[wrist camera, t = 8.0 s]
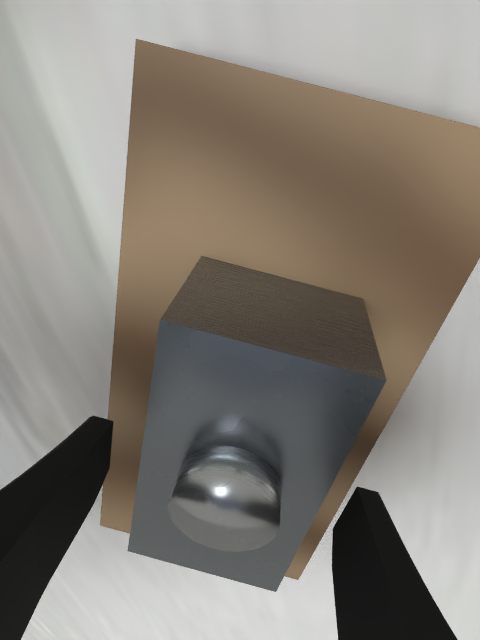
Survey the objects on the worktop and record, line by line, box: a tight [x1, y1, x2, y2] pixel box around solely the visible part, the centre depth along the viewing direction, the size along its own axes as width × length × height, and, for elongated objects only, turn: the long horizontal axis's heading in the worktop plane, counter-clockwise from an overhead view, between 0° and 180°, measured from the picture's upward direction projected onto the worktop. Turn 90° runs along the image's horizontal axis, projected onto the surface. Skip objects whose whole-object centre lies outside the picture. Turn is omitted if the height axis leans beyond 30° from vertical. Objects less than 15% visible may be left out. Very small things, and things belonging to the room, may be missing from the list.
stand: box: [100, 39, 480, 580], centre depth 16 cm, size 20×10×3 cm, turn 167°
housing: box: [128, 256, 387, 592], centre depth 12 cm, size 9×5×5 cm, turn 167°
